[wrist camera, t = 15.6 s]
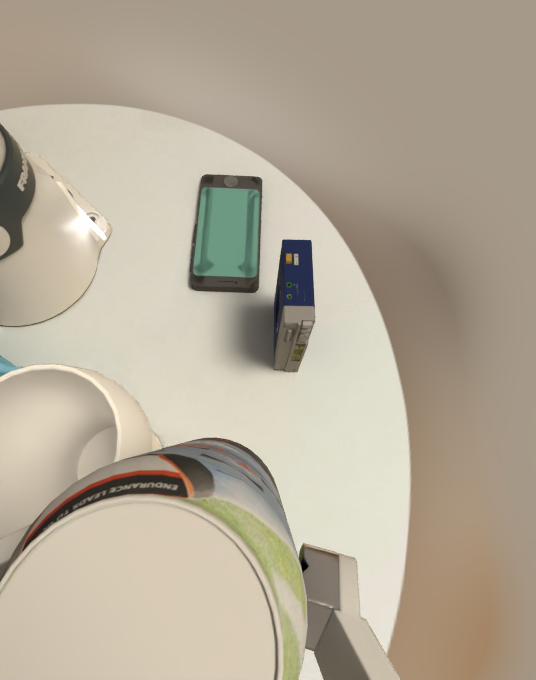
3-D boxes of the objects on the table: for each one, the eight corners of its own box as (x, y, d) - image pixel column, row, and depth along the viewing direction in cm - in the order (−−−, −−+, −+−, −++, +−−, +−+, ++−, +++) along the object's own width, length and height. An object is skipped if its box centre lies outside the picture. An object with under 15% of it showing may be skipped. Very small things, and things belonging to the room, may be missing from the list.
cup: (198, 427, 36) (165, 388, 22) (149, 550, 32) (71, 597, 18) (94, 390, 37) (-2, 330, 23) (34, 506, 33) (-125, 518, 19)
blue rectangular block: (273, 304, 41) (282, 236, 30) (295, 305, 41) (312, 236, 30) (274, 372, 38) (283, 323, 27) (297, 372, 38) (316, 324, 27)
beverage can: (260, 427, 19) (257, 337, 8) (304, 597, 16) (398, 836, 5) (130, 462, 18) (-80, 422, 7) (156, 646, 16) (-108, 1042, 4)
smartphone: (262, 175, 46) (258, 287, 40) (262, 183, 47) (258, 292, 41) (199, 172, 46) (187, 284, 40) (201, 180, 47) (189, 290, 41)
